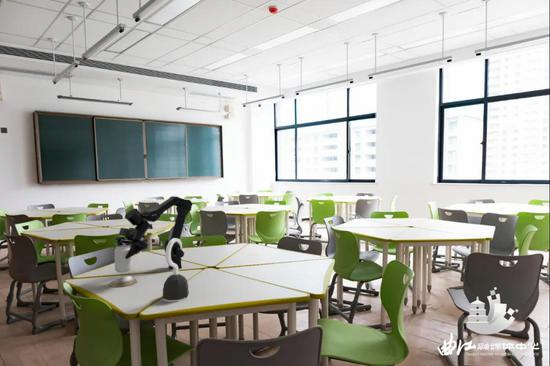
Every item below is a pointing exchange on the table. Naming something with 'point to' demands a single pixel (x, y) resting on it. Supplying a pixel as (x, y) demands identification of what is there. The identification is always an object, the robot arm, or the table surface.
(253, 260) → the table surface
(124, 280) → the stub stand
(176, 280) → the hook
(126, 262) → the can
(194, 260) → the table surface
